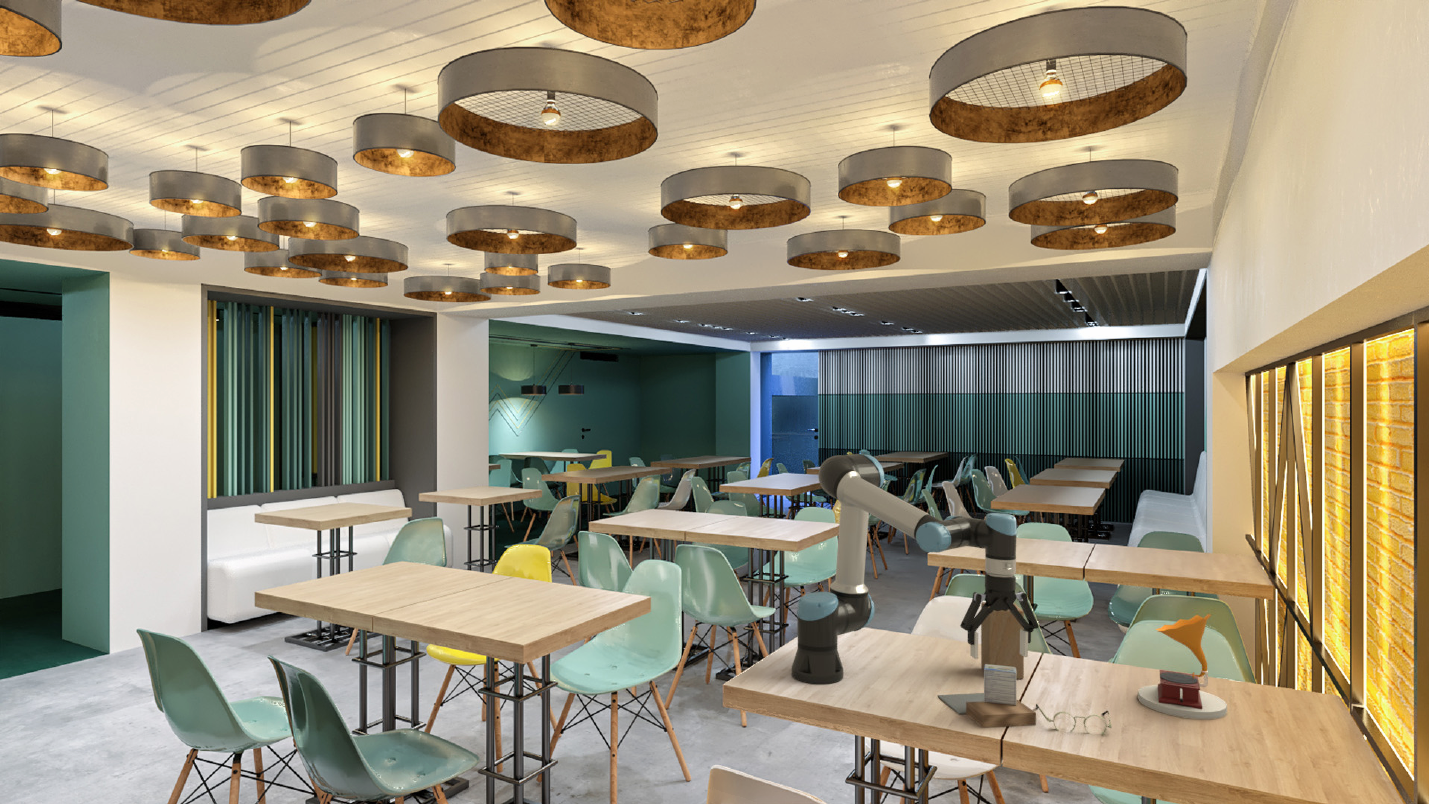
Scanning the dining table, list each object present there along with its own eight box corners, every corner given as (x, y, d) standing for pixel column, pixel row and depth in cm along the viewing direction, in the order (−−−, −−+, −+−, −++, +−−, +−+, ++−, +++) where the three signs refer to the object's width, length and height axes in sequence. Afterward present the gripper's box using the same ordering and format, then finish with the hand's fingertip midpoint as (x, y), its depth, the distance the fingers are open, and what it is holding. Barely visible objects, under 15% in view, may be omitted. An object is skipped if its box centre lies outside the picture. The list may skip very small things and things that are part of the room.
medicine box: (1016, 700, 208) (1016, 666, 208) (1016, 706, 204) (1016, 671, 204) (984, 696, 211) (984, 663, 211) (983, 702, 207) (983, 668, 207)
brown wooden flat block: (982, 727, 198) (982, 715, 198) (966, 714, 207) (966, 702, 207) (1035, 724, 200) (1035, 712, 200) (1017, 711, 209) (1017, 699, 209)
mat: (958, 714, 206) (958, 712, 206) (937, 696, 219) (937, 695, 219) (1020, 711, 209) (1021, 709, 209) (996, 693, 222) (996, 692, 222)
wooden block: (1014, 668, 243) (1014, 602, 243) (1024, 679, 233) (1024, 610, 234) (980, 667, 244) (980, 601, 244) (988, 678, 234) (988, 609, 235)
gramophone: (1223, 699, 218) (1223, 607, 218) (1230, 725, 200) (1230, 624, 200) (1138, 687, 228) (1138, 598, 228) (1137, 710, 210) (1137, 614, 210)
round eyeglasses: (1042, 731, 197) (1042, 710, 197) (1034, 708, 212) (1034, 689, 212) (1118, 738, 193) (1118, 717, 193) (1104, 715, 207) (1104, 696, 207)
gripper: (961, 578, 202) (959, 662, 202) (1053, 576, 206) (1052, 659, 206) (948, 571, 210) (946, 653, 210) (1037, 570, 213) (1036, 650, 213)
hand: (999, 656), depth 208 cm, fingers open, 13 cm apart
